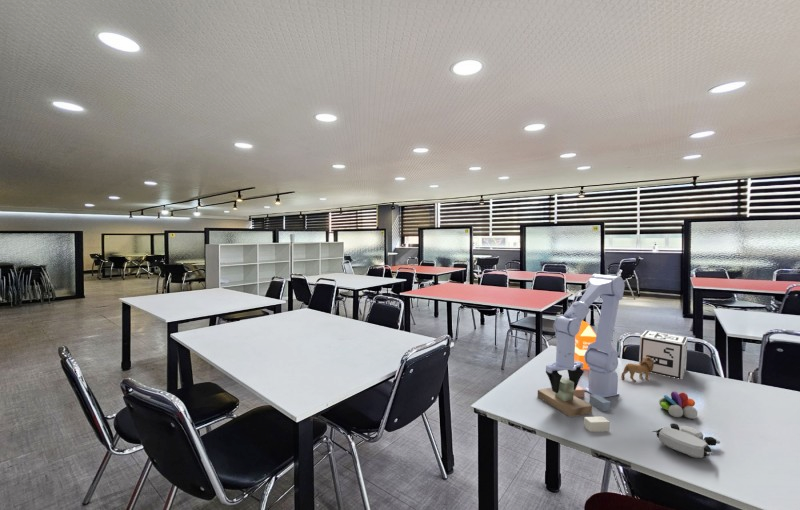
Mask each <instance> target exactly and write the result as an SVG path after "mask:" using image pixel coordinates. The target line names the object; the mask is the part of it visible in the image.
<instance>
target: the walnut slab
mask: <svg viewBox="0 0 800 510" xmlns="http://www.w3.org/2000/svg"><path fill="white" fill-rule="evenodd" d="M537 397H538V399H540V400H542V401H544V402H546V403H547V404H549V405H550V406H552V407H554V409H557V410H558V411H560V412H561V413H563V414H565V415H566V416H567V417H570V418H574V417H577V416H578V417H579V416H583V415H587V414H589V415H590V414H592V413H593V412H592V411H593V404H591V403H588V402H587V401H585V400H583V399H581V398H580V397H579V398H577V397H576V396H573V400H568V401H563V400H561V399H560V398H558V397H556V396H555V392H554V391H552V387H548V388H541V389H537Z"/></svg>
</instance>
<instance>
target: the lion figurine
mask: <svg viewBox="0 0 800 510" xmlns="http://www.w3.org/2000/svg"><path fill="white" fill-rule="evenodd" d="M653 366H654V361H653V360H652V358H650V357H644V358H643V360H642V362H641V364H639V363H637V364H636V363H627V364H626V365H625V366H624V368H623V371H622V373H621V375H620V376H621V380H622V381H624V380H625V378H626V376H625V375H626V374H627V373H629V374H630V377H629V378H630V380H632V382H634V383H635V382H637V380H636V379H634V376H635V373H636V374H639V376H638V377H639V379H641V378H642V379H643V374H644V375H645V377H644V378H645V381H646V382H650V380H649V375H650V374H651V373H650V372H651V371H652V370H653Z"/></svg>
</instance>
